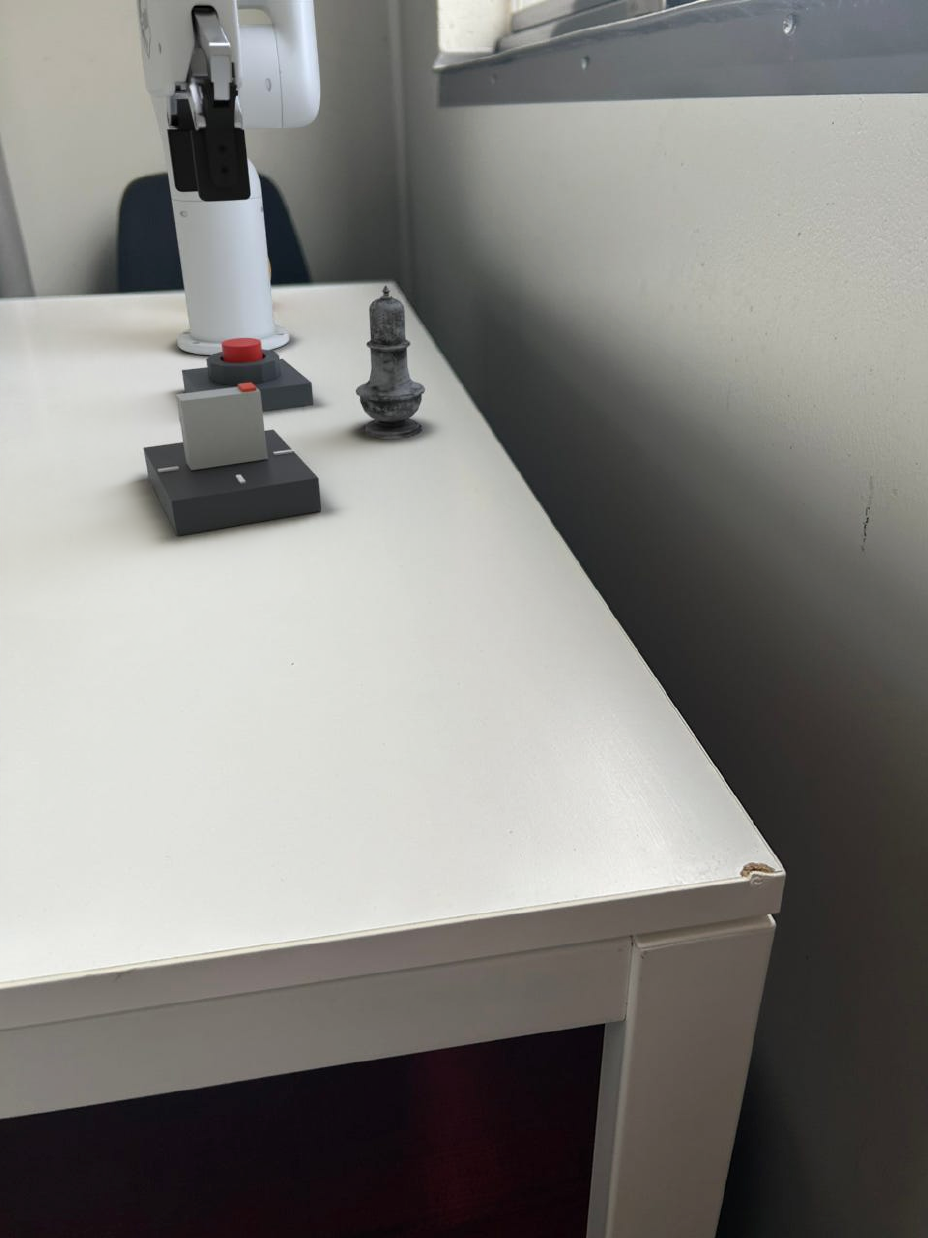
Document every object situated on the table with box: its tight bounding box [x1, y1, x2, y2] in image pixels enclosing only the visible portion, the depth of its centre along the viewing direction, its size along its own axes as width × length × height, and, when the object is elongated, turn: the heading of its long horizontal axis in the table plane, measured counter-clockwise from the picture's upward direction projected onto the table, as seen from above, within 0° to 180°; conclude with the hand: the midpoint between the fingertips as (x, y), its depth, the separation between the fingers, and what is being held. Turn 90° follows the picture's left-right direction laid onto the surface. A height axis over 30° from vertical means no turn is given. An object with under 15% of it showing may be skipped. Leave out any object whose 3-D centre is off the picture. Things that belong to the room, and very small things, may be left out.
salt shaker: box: [355, 285, 426, 440], centre depth 82 cm, size 6×6×12 cm
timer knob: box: [175, 382, 268, 470], centre depth 70 cm, size 6×2×5 cm, turn 115°
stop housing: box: [181, 349, 314, 413], centre depth 93 cm, size 10×10×4 cm
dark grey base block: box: [143, 429, 322, 537], centre depth 72 cm, size 12×10×3 cm
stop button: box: [222, 338, 263, 363], centre depth 92 cm, size 4×4×2 cm
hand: (211, 195), depth 66 cm, fingers open, 9 cm apart
